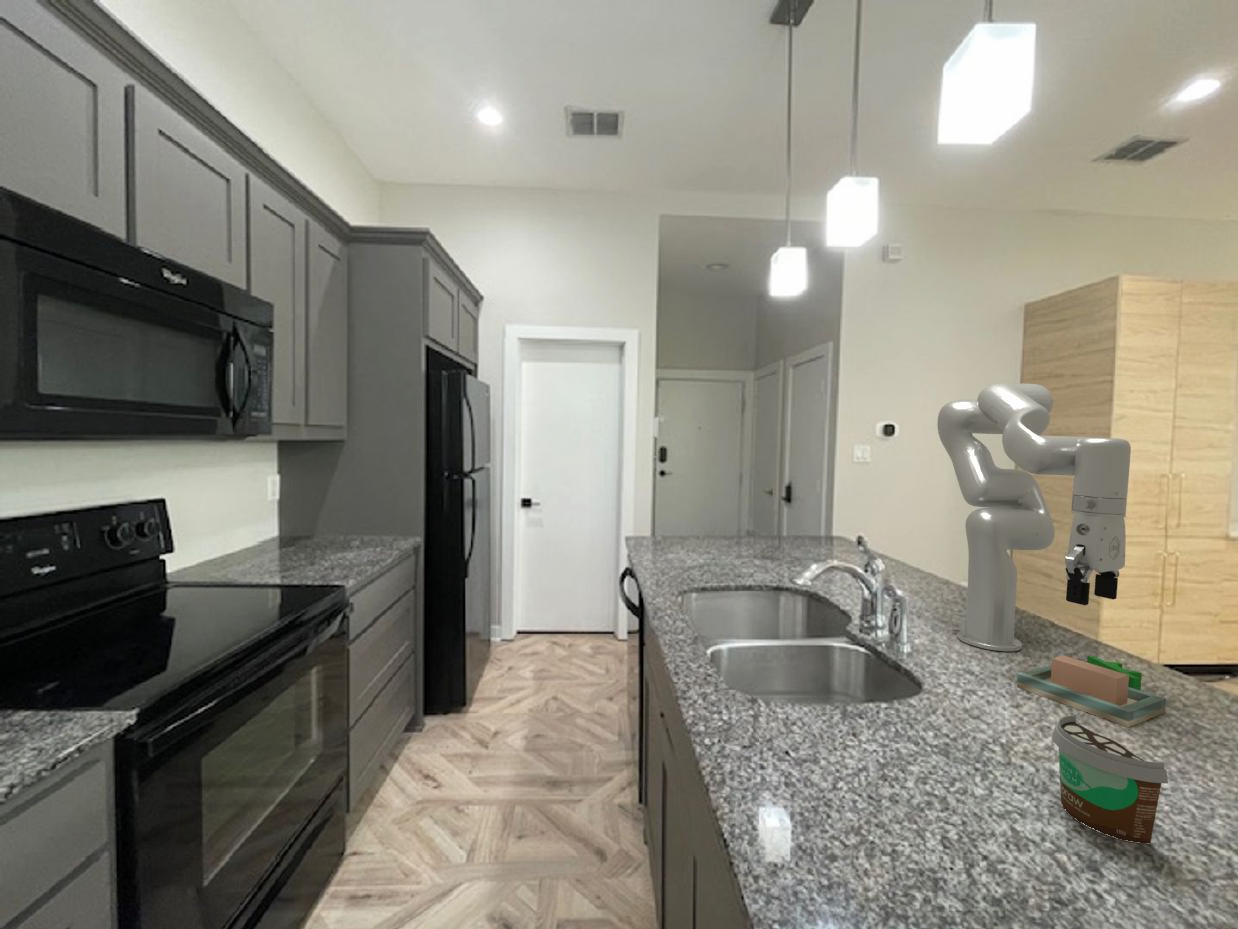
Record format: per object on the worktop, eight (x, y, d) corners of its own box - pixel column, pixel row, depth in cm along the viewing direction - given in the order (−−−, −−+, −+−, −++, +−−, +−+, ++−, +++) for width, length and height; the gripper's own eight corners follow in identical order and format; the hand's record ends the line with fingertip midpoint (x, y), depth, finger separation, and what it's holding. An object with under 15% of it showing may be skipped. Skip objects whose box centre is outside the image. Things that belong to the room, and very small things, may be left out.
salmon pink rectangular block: (1115, 707, 98) (1117, 678, 98) (1050, 684, 107) (1052, 658, 107) (1127, 703, 100) (1128, 675, 100) (1062, 681, 109) (1063, 655, 109)
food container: (1024, 788, 75) (1028, 713, 75) (1067, 787, 76) (1071, 713, 75) (1112, 855, 63) (1118, 766, 63) (1163, 853, 63) (1169, 765, 63)
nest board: (1016, 686, 108) (1017, 673, 108) (1054, 676, 114) (1055, 663, 114) (1128, 727, 93) (1129, 712, 93) (1165, 712, 99) (1165, 698, 99)
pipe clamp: (1153, 704, 103) (1155, 679, 103) (1131, 703, 103) (1133, 678, 103) (1106, 678, 114) (1107, 656, 114) (1086, 677, 114) (1087, 655, 114)
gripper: (1098, 511, 95) (1091, 611, 96) (1147, 507, 103) (1140, 601, 104) (1048, 505, 102) (1041, 599, 103) (1098, 502, 110) (1091, 590, 111)
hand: (1091, 600), depth 103 cm, fingers open, 9 cm apart
